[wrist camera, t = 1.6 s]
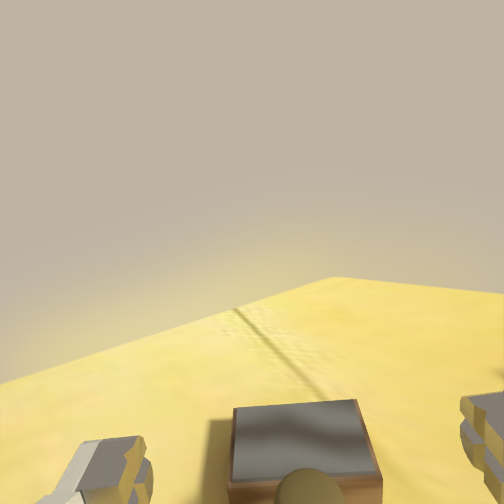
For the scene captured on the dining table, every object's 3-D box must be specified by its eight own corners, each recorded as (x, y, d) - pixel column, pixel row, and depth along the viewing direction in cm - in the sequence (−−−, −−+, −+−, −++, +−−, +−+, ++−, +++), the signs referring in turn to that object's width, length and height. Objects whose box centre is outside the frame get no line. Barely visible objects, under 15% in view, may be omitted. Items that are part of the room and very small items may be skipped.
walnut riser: (382, 509, 37) (382, 474, 35) (232, 518, 37) (226, 484, 36) (356, 426, 46) (356, 395, 44) (237, 434, 47) (232, 404, 45)
